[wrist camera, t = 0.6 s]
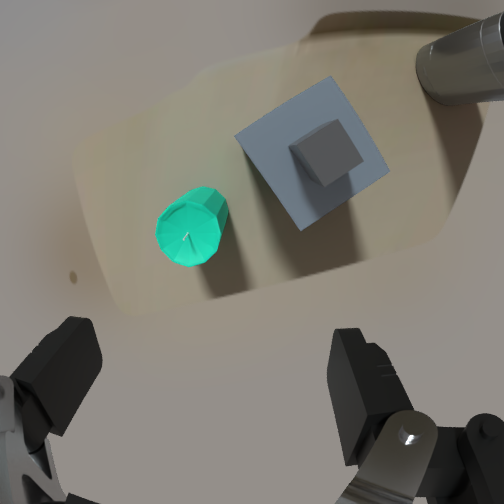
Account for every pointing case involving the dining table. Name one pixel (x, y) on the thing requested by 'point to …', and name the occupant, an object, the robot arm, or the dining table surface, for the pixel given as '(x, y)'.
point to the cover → (313, 152)
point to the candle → (192, 226)
